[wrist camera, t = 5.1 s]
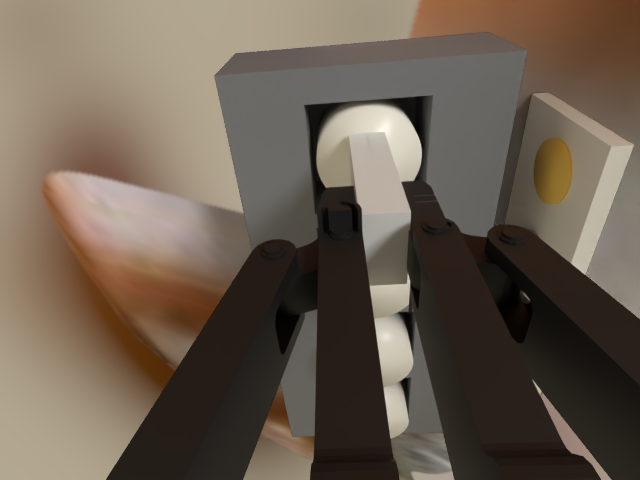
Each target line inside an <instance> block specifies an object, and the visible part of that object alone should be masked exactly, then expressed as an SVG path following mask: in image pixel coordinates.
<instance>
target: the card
mask: <svg viewBox="0 0 640 480" xmlns="http://www.w3.org/2000/svg"><path fill="white" fill-rule="evenodd" d="M633 147H634V145H633V144H632V143H630V142H628V141H627V140H625V139H623V138H622V137H620V136H619V135H617V134H615V133H614V132H612V131H610V130H609V129H607V128H605V127H604V126H602V125H601V124H599V123H597V122H596V121H594V120H592V119H591V118H589V117H588V116H586V115H584V114H583V113H581V112H579V111H578V110H576V109H575V108H573V107H571V106H570V105H568V104H566V103H565V102H563V101H562V100H560V99H558V98H557V97H555V96H553V95H552V94H550V93H549V92H547V93H534V94H532V96H531V101H530V106H529V111H528V115H527V120H526V125H525V130H524V134H523V139H522V144H521V149H520V153H519V158H518V163H517V167H516V172H515V177H514V182H513V186H512V191H511V196H510V201H509V205H508V210H507V215H506V220H505V224H504V225H506V224H508V225H517V226H520V227H523V228H526V229H528V230H529V231H531V232H533V233H534V234H535V235H537V236H538V237H539V238H540V239H541V240H543V241H544V242H545V243H546V244H548V245H549V246H550V247H551V248H553V249H554V250H555V251H556V252H557V253H559V254H560V255H561V256H562V257H564V258H565V259H566V260H567V261H569V262H570V263H571V264H572V265H573V266H575V267H576V268H577V269H578V270H580V271H581V272H582V273H583V274H586V272H587V269H588V266H589V264H590V261H591V258H592V256H593V253H594V251H595V248H596V245H597V243H598V240H599V237H600V235H601V232H602V229H603V227H604V224H605V221H606V219H607V216H608V213H609V211H610V208H611V205H612V203H613V200H614V197H615V195H616V192H617V189H618V187H619V184H620V181H621V179H622V176H623V173H624V171H625V168H626V165H627V163H628V160H629V157H630V155H631V152H632V149H633ZM524 296H525V297H526V298H527V299H528V300H529V301H530V299H529V298H528V297H527V295H526V294H525V293H524ZM532 380H533V379H532ZM533 382H534V381H533ZM534 384H535V386H536V388H537V390H538V392H539V394H541V390H540V388H539V387H538V386H537V385H536V383H535V382H534Z"/></svg>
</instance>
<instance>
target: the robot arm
mask: <svg viewBox="0 0 640 480" xmlns="http://www.w3.org/2000/svg"><path fill="white" fill-rule="evenodd" d="M349 152H350V177H351V186H342V187H327V188H326V190H325V191H324V192H323V193H322V194H321V206H320V207H318V210H317V221H318V231H319V237H318V238H317V239H316V240H315V241H314V242H312V243H310V244H308V245H305V246H302V247H298V248H296V247H295V245H294V244H293V243H291V242H290V241H288V240H283V239H272V240H268V241H265V242H263V243H261V244H259V245H257V246H256V247H255V248H254V249H253V251H252V252H251V254H250V255H249V257H248V259H247V260H246V262H245V263H244V265H243V266H242V268H241V269H240V271H239V273H238V274H237V276H236V277H235V279H234V280H233V282H232V284H231V285H230V287H229V288H228V290H227V291H226V293H225V294H224V296H223V298H222V299H221V301H220V302H219V304H218V305H217V307H216V309H215V310H214V312H213V313H212V315H211V316H210V318H209V319H208V321H207V323H206V324H205V326H204V327H203V329H202V330H201V332H200V334H199V335H198V337H197V338H196V340H195V341H194V343H193V344H192V346H191V348H190V349H189V351H188V352H187V354H186V355H185V357H184V358H183V360H182V362H181V363H180V365H179V366H178V368H177V369H176V371H175V373H174V374H173V376H172V377H171V379H170V380H169V382H168V384H167V385H166V387H165V388H164V390H163V391H162V393H161V394H160V396H159V398H158V399H157V401H156V402H155V404H154V405H153V407H152V408H151V410H150V412H149V413H148V415H147V416H146V418H145V419H144V421H143V423H142V424H141V426H140V427H139V429H138V430H137V432H136V433H135V435H134V437H133V438H132V440H131V441H130V443H129V444H128V446H127V448H126V449H125V451H124V452H123V454H122V456H121V457H120V458H119V460H118V462H117V463H116V465H115V466H114V468H113V469H112V471H111V472H110V474H109V476H108V477H107V479H106V480H243V478H244V476H245V472H246V470H247V468H248V465H249V462H250V460H251V457H252V455H253V452H254V449H255V447H256V444H257V441H258V439H259V436H260V434H261V431H262V429H263V426H264V423H265V421H266V418H267V416H268V413H269V410H270V408H271V405H272V403H273V400H274V397H275V395H276V392H277V390H278V387H279V384H280V382H281V379H282V377H283V374H284V371H285V369H286V366H287V364H288V361H289V358H290V356H291V353H292V351H293V348H294V345H295V343H296V340H297V337H298V335H299V332H300V330H301V327H302V324H303V322H304V319H305V313H306V312H310V311H313V310H316V309H317V347H316V393H315V440H314V460H313V463H312V464H311V473H310V480H399V474H398V468H397V464H396V461H395V460H394V457H393V453H392V446H391V439H390V431H389V424H388V417H387V409H386V402H385V395H384V387H383V380H382V373H381V365H380V358H379V351H378V343H377V336H376V329H375V321H374V314H373V307H372V299H371V292H370V286H376V285H395V284H407V277H408V275H409V279H410V294H409V311H408V312H412V307H413V311H414V315H415V319H416V323H417V327H418V331H419V336H420V340H421V344H422V348H423V352H424V356H425V360H426V364H427V368H428V373H429V377H430V381H431V385H432V389H433V393H434V397H435V401H436V405H437V410H438V414H439V418H440V422H441V426H442V430H443V434H444V438H445V443H446V447H447V451H448V455H449V459H450V463H451V467H452V471H453V475H454V479H455V480H601V479H600V477H599V475H598V474H597V472H596V471H595V469H594V467H593V466H592V465H591V463H589V462H588V461H587V460H586V459H585V458H584V457H583V456H579V455H576V454H572V453H571V452H570V451H569V450H567V448H566V447H565V445H564V443H563V442H562V440H561V438H560V436H559V434H558V432H557V429H556V427H555V425H554V423H553V421H552V419H551V417H550V415H549V413H548V411H547V409H546V407H545V405H544V403H543V400H542V398H541V396H540V394H539V392H538V390H537V388H536V386H535V384H534V382H535V383H536V385H537V386H538V387H539V388H540V390H541V391H542V392H543V393H544V395H545V396H546V397H547V398H548V400H549V401H550V402H551V403H552V405H553V406H554V407H555V409H556V410H557V411H558V412H559V413H560V415H561V416H562V417H563V419H564V420H565V421H566V423H567V424H568V425H569V426H570V428H571V429H572V430H573V431H574V433H575V434H576V435H577V436H578V438H579V439H580V440H581V441H582V443H583V444H584V445H585V447H586V448H587V449H588V450H589V452H590V453H591V454H592V455H593V457H594V458H595V459H596V460H597V462H598V463H599V464H600V466H601V467H602V468H603V469H604V471H605V472H606V473H607V474H608V476H609V477H610V478H611V479H612V480H640V319H639V318H637V317H636V316H635V315H634V314H632V313H631V312H630V311H629V310H628V309H626V308H625V307H624V306H623V305H621V304H620V303H619V302H618V301H617V300H615V299H614V298H613V297H612V296H610V295H609V294H608V293H607V292H605V291H604V290H603V289H602V288H601V287H599V286H598V285H597V284H596V283H594V282H593V281H592V280H591V279H589V278H588V277H587V276H586V275H585V274H583V273H582V272H581V271H580V270H578V269H577V268H576V267H575V266H573V265H572V264H571V263H570V262H569V261H567V260H566V259H565V258H564V257H562V256H561V255H560V254H559V253H557V252H556V251H555V250H554V249H553V248H551V247H550V246H549V245H548V244H546V243H545V242H544V241H543V240H541V239H540V238H539V237H538V236H537V235H535V234H534V233H533V232H531V231H529V230H528V229H526V228H523V227H520V226H517V225H508V224H506V225H498V226H495V227H492V228H491V229H490V230H489V231H488V233H487V237H481V236H473V235H468V234H464V233H461V231H460V229H459V227H458V226H457V225H456V224H455V222H453V221H451V220H449V219H447V218H445V216H444V214H443V211H442V209H441V207H440V205H439V203H438V201H437V198H436V196H435V195H434V192H433V190H432V187H431V186H430V185H428V184H427V183H426V182H424V181H423V180H419V181H404V182H401V180H400V177H399V174H398V171H397V168H396V165H395V162H394V159H393V156H392V153H391V150H390V147H389V144H388V141H387V138H386V135H385V132H372V133H358V134H349ZM524 293H525V294H526V295H527V297H528V298H529V299H530V301H529V300H528V299H527V298H526V297H525V296H524ZM532 379H533V380H532ZM533 381H534V382H533Z"/></svg>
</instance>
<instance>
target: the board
mask: <svg viewBox="0 0 640 480" xmlns="http://www.w3.org/2000/svg"><path fill="white" fill-rule="evenodd" d="M527 51H528V50H526V49H524V48H522V47H519V46H517V45H515V44H513V43H511V42H509V41H507V40H504V39H502V38H500V37H498V36H496V35H494V34H492V33H489V32H485V33H473V34H461V35H449V36H437V37H425V38H413V39H402V40H389V41H377V42H365V43H354V44H342V45H330V46H318V47H308V48H307V47H306V48H294V49H283V50H272V51H271V50H270V51H258V52H246V53H236V54H235V55H234V56H233V57H232V58H231V59H230V60H229V61H228V62H227V63H226V64H225V65H224V66H223V67H222V68H221V69H220V71H218V72H217V73H216V74H215V81H216V85H217V90H218V95H219V100H220V104H221V108H222V113H223V118H224V123H225V127H226V132H227V136H228V141H229V146H230V150H231V155H232V160H233V164H234V169H235V174H236V178H237V183H238V188H239V192H240V197H241V201H242V206H243V211H244V215H245V220H246V225H247V229H248V234H249V239H250V243H251V248H252V251H253V249H254V248H255V247H256V246H257V245H259V244H261V243H263V242H265V241H268V240H272V239H283V240H288V241H290V242H291V243H293V244H294V245H295V247H296V248H298V247H302V246H305V245H308V244H310V243H312V242H314V241H315V240H316V239H317V238H318V237H319V231H318V221H317V210H318V207H320V206H321V194H322V193H323V192H324V191H325V190H326V187H325V185H324V184H323V182H322V181H321V178H320V176H319V173H318V170H317V159H316V157H317V139H318V128H319V124H320V121H321V118H322V116H323V114H324V112H325V110H326V109H327V108H328V107H329V105H330V104H331V103H337V102H350V101H364V100H377V99H390V98H395V99H396V100H398V102H399V103H400V104H401V105H402V106H403V108H404V109H405V111H406V113H407V115H408V117H409V119H410V121H411V123H412V125H413V127H414V129H415V131H416V133H417V135H418V137H419V140H420V143H421V149H422V159H421V165H420V168H419V171H418V173H417V176H416V177H415V179H414V181H419V180H423V181H424V182H426V183H427V184H428V185H430V186H431V187H432V190H433V192H434V195H435V196H436V198H437V201H438V203H439V205H440V207H441V209H442V211H443V214H444V216H445V218H447V219H449V220H451V221H453V222H455V224H456V225H457V226H458V227H459V229H460V231H461V233H464V234H468V235H473V236H481V237H487V233H488V231H489V230H490V229H491V228H492V227H493V226H494V221H495V216H496V211H497V206H498V200H499V195H500V190H501V185H502V180H503V175H504V169H505V164H506V159H507V154H508V149H509V144H510V138H511V133H512V128H513V123H514V118H515V113H516V107H517V102H518V97H519V92H520V87H521V82H522V76H523V71H524V66H525V61H526V56H527ZM408 311H409V305H408V306H406V307H405V308H404V309H402V310H401V311H399V312H402V313H403V315H404V318H405V322H406V327H407V332H408V336H409V341H410V346H411V351H412V355H413V367H412V370H411V371H410V373H409V374H408V375H407V376H406V377H405V378H404V379H403V380H402V384H403V390H404V395H405V401H406V407H407V412H408V418H409V424H408V426H407V428H406V430H405V431H404V432H403V433H401V434H404V433H439V432H443V430H442V426H441V422H440V418H439V414H438V410H437V405H436V401H435V397H434V393H433V389H432V385H431V381H430V377H429V373H428V368H427V364H426V360H425V356H424V352H423V348H422V344H421V340H420V336H419V331H418V327H417V323H416V319H415V315H414V311H413V307H412V312H408ZM316 347H317V309H316V310H313V311H310V312H306V313H305V319H304V322H303V324H302V327H301V330H300V332H299V335H298V337H297V340H296V343H295V345H294V348H293V351H292V353H291V356H290V358H289V361H288V364H287V366H286V369H285V371H284V374H283V377H282V379H281V387H282V392H283V396H284V401H285V406H286V410H287V415H288V419H289V424H290V429H291V433H292V437H299V436H315V393H316Z"/></svg>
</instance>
